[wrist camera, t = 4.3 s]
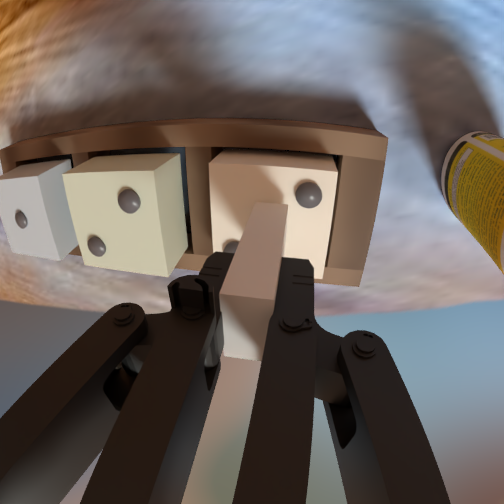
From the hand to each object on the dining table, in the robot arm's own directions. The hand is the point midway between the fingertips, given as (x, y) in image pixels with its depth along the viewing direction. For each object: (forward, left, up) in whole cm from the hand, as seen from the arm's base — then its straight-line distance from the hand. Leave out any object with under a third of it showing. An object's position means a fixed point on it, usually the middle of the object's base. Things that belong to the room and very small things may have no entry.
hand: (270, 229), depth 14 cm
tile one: (-16, 0, -2) cm, 16 cm away
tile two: (-8, 0, -2) cm, 8 cm away
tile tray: (-8, 0, -5) cm, 9 cm away
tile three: (0, 0, -4) cm, 4 cm away
